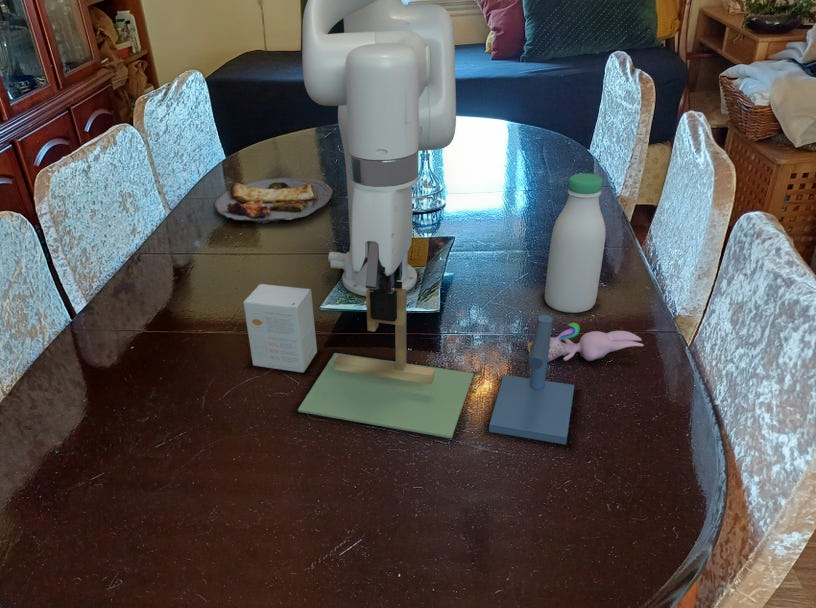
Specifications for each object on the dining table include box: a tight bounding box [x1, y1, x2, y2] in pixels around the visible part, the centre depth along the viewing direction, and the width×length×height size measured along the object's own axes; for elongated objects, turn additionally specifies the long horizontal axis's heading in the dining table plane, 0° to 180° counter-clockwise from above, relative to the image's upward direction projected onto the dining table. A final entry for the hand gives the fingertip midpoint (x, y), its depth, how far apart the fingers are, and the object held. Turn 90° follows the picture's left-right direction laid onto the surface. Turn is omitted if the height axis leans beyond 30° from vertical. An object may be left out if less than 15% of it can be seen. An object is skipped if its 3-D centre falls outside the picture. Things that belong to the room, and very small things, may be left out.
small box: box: [243, 283, 318, 373], centre depth 101 cm, size 8×6×10 cm
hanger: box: [334, 288, 435, 384], centre depth 91 cm, size 13×2×12 cm, turn 70°
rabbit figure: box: [526, 322, 645, 363], centre depth 99 cm, size 6×6×15 cm
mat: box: [297, 352, 475, 439], centre depth 96 cm, size 20×14×1 cm
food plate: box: [212, 176, 333, 225], centre depth 154 cm, size 25×23×4 cm
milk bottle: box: [544, 173, 606, 314], centre depth 108 cm, size 8×8×20 cm
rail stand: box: [488, 314, 575, 446], centre depth 88 cm, size 9×11×11 cm
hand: (386, 313), depth 89 cm, fingers closed on hanger, 1 cm apart
